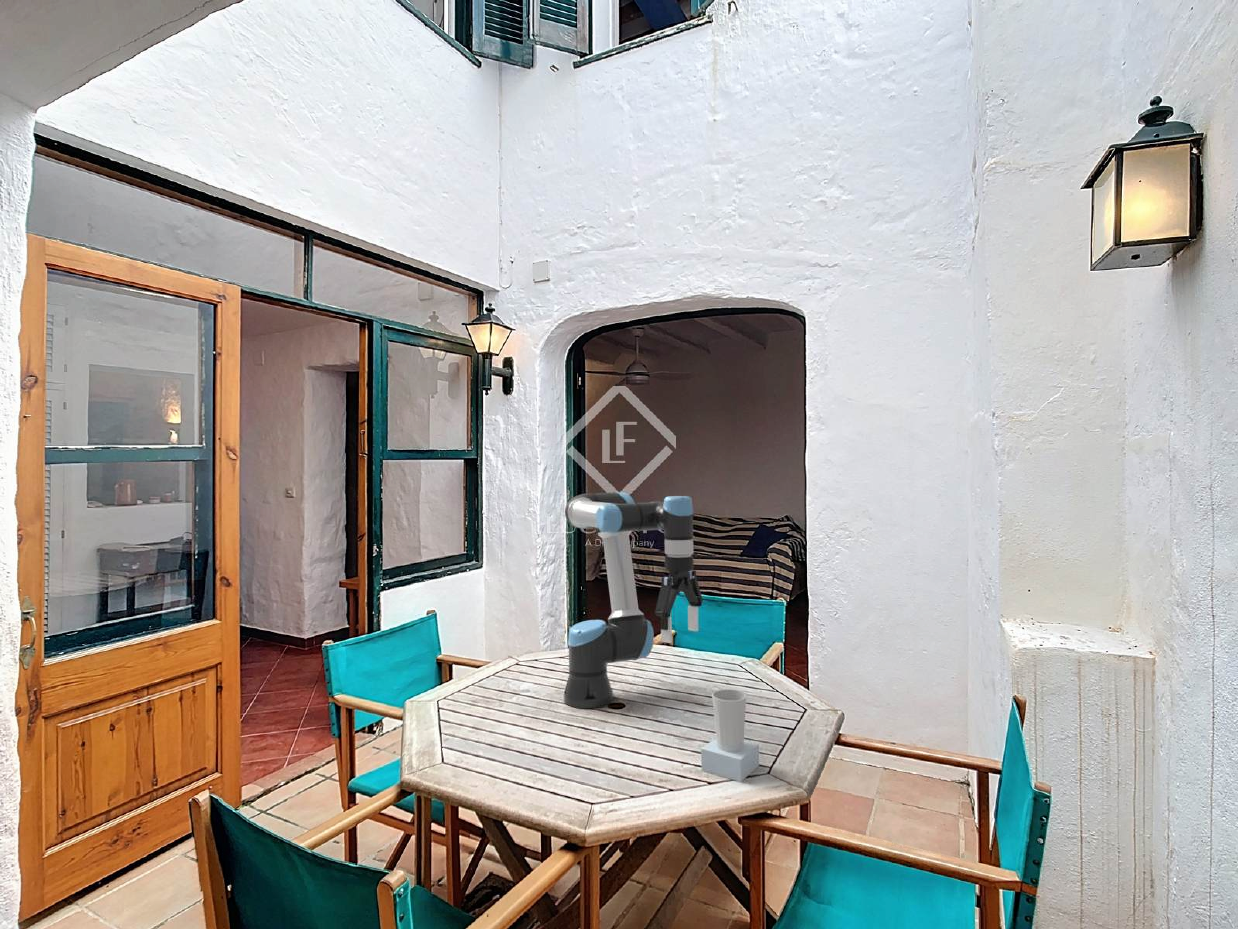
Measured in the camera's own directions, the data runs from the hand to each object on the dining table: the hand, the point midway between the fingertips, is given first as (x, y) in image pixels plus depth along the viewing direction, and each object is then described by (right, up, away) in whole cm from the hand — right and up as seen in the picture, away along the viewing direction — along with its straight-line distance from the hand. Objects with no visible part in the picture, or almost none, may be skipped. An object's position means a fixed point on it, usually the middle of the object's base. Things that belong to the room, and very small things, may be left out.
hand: (680, 636), depth 168 cm
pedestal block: (+10, -26, -17) cm, 33 cm away
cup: (+10, -21, -17) cm, 29 cm away
